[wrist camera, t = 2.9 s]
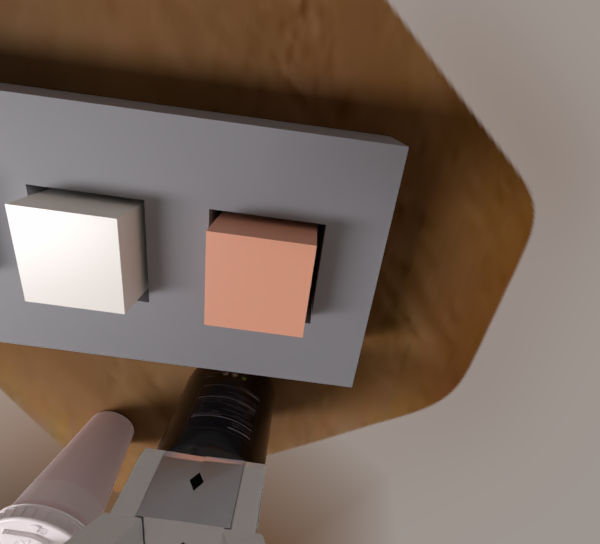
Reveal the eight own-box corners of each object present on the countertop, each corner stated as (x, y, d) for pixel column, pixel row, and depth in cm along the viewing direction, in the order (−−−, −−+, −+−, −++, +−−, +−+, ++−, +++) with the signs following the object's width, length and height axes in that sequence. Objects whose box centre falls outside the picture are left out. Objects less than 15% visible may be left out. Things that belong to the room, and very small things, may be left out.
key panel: (-70, 284, 27) (-148, 322, 22) (-142, 62, 21) (-268, 53, 17) (346, 339, 27) (351, 387, 23) (390, 136, 21) (409, 146, 17)
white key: (76, 265, 23) (25, 301, 19) (64, 183, 21) (4, 203, 17) (158, 276, 23) (124, 314, 19) (155, 195, 21) (116, 219, 17)
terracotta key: (224, 285, 23) (204, 324, 19) (227, 205, 21) (206, 231, 17) (305, 295, 23) (302, 337, 19) (317, 217, 21) (316, 245, 17)
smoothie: (110, 386, 30) (-41, 596, 18) (165, 435, 32) (66, 654, 20) (59, 419, 32) (-111, 629, 19) (115, 463, 34) (-6, 680, 21)
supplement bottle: (265, 428, 31) (237, 603, 21) (184, 410, 31) (111, 579, 20) (284, 364, 29) (263, 529, 18) (195, 343, 28) (118, 499, 17)
